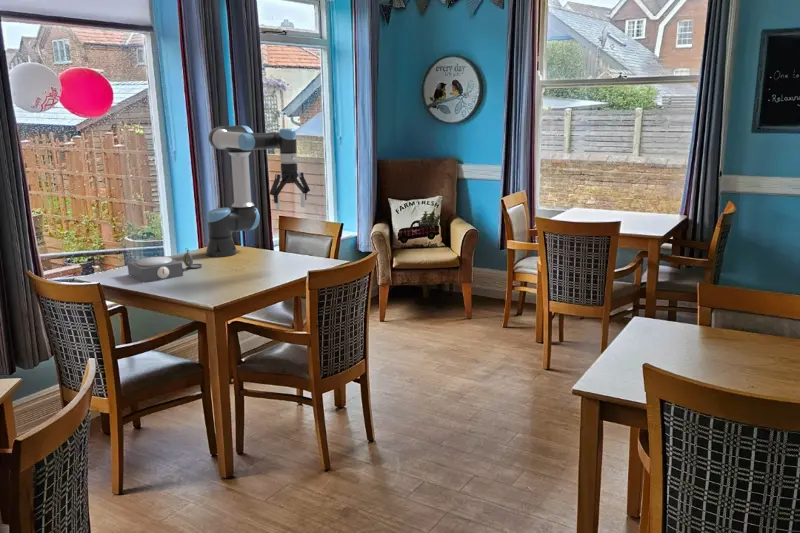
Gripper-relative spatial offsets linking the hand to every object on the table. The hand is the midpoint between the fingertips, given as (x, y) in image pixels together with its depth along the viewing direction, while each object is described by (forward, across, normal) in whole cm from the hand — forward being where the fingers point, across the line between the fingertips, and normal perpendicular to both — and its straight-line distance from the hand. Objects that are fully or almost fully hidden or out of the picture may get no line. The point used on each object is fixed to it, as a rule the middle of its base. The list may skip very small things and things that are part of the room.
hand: (290, 208), depth 315 cm
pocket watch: (+28, -37, +30) cm, 55 cm away
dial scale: (+28, -56, +26) cm, 68 cm away
